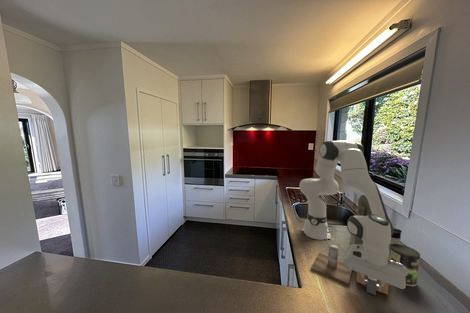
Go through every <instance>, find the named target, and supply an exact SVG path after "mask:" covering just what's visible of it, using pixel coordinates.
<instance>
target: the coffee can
mask: <svg viewBox="0 0 470 313" xmlns="http://www.w3.org/2000/svg"><path fill="white" fill-rule="evenodd" d="M420 258H421V253H420V252H419V251H417V250H415V249H414V248H413V247H409V246H406V245H404V244H403V245H402V244H401V243H400V244H391V245H390V258H389V260H392V261H395V262H397V263H401V264H403V265H404V266H406V267H407V269H408V275H407V276H405V279H406V287H416V286H418V273H419V265H420ZM404 266H403V267H404Z"/></svg>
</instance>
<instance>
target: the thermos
mask: <svg viewBox="0 0 470 313" xmlns="http://www.w3.org/2000/svg"><path fill="white" fill-rule="evenodd" d="M357 202H358V203H357V212H356V214H355V216H367V215H370V214H372V212H371V209H370V205H369V202H368V199H367V197H366V196H365V195H364V194H361V195H360V196H359V198H358V200H357ZM353 244H358V245H363V241H362V240H361V239H358V238H356V237H354V243H353Z"/></svg>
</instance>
